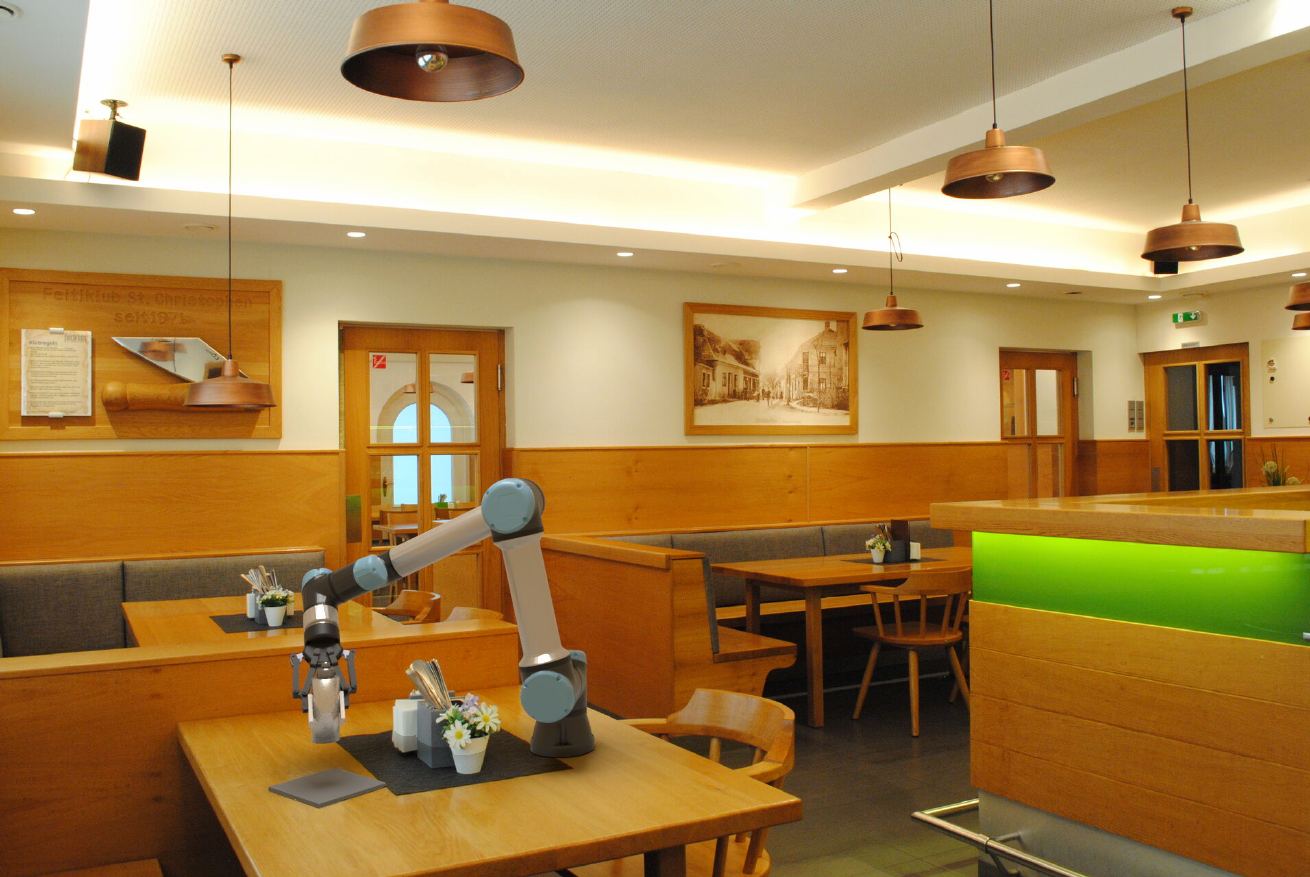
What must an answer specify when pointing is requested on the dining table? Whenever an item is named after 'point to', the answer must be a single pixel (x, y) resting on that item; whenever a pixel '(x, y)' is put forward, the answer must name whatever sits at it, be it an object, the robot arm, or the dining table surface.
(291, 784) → the slate mat
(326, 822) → the dining table surface
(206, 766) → the dining table surface
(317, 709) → the pepper mill
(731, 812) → the dining table surface
